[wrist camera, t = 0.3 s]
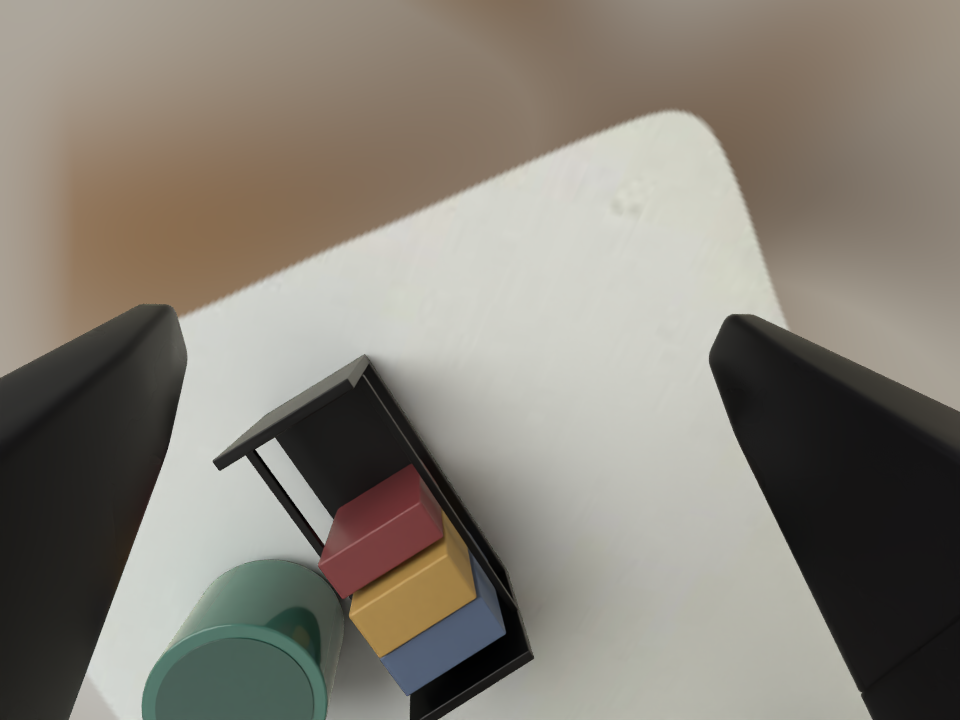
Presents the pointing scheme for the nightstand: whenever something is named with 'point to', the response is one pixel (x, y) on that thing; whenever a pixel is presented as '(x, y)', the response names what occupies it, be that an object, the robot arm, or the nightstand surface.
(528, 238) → the nightstand surface
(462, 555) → the books
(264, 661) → the green glass jar
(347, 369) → the rack
